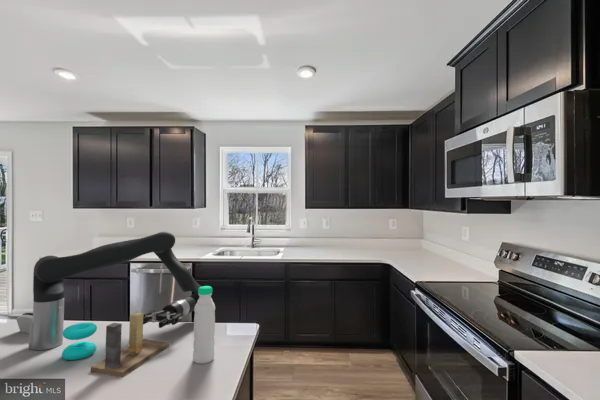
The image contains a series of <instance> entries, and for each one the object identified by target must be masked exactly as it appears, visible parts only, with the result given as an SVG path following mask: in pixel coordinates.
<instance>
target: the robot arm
mask: <svg viewBox="0 0 600 400" xmlns="http://www.w3.org/2000/svg"><path fill="white" fill-rule="evenodd" d="M175 244H176V237H175V235H174V234H173V233H171V232H169V231H160V232H157V233H154V234H151V235H149V236H145V237H141V238H135V239H129V240H123V241H119V242H113V243H108V244H104V245H100V246H98V247H97V246H96V247H95V248H91V249H90V250H87V251H85V252H82V253H77V254H73V255H68V256H60V257H59V256H57V255H46V256H43V257H41V258H40V259H38V260H37V261H36V262H35V265H34V266H33V276H32V277H33V280H32V281H33V282H32V284H33V285H32V286H33V287H32V292H33V294H32V295H33V299H32V301H33V305H32V306H33V307H32V311H33V321H32V322H30V326H29V333H28V349H29V350H33V351H45V350H50V349H53V348H56V347H59V346H61V345H62V344H63V343H64V336H63V331H64V325H65V324H64V321H65V317H64V315H65V296H66V295H65V294H66V293H65V292H66V291H65V283H64V280H65V279H66V278H70V277H73V276H75V275H78V274H81V273H85V272H89V271H94V270H101V269H103V268H109V267H113V266H117V265H120V264H124V263H127V262H130V261H132V260H134V259H137V258H140V257H141V256H144V255H146V254H150V253H153V254H155V256H157V258H158V259H160V261H161V262H162V263H163V264H164V266H165V267H166V268H167V269H168V271H169V272H170V273H171V276H172V277H173V278H174V280H175V281H176V283H177V285H178V286H179V288H180V290H181V291H182V292H183V293H186V292H192V294H191V295H189V296H186V297H183V298H181V299H178V300H175V301H173V302H171V303H169V304H166V305H165V306H164V307H163V308H162V310H160V311H157V312H156V311H155V310H152V311H149V312H146V313H143V326H144V325H146V324H148V323H154V324H155V323H158V329H162V328H164V327H165V326H169V325H171V326H175V325H176V324H178V323H180V322H181V321H182V319H183V318H184V317H186V316H187V315H188V314H190V313H192V312H194V308H195V305H196V304H197V301H198V299H199V297H200V296H199V295H198V289H199V287H202V285H201V284H200V283H198V282H197V281H196V280H195V278H194V277H193V275H192V273H191V271H190V270H189V269H188V268H187V267H186V266H185V265H184V264H183V263H182V261H180V260H179V259H178V258H177V257H176V255H175V254H174V252H173V250H172V248H173V247H174V246H175Z"/></svg>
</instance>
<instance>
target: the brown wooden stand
mask: <svg viewBox="0 0 600 400" xmlns="http://www.w3.org/2000/svg"><path fill="white" fill-rule="evenodd" d="M105 329H106V332H105V353H104V354H105V358H104V359H103V360H100V361H99V362H97V363H95V364H94V365H92V366H90V372H91V373H95V374H100V375H101V374H102V375H108V376H115V377H121V378H123V377H125V376H126V375H129V373H131V372H132V371H134V370H135V369H137V368H138V367H140V366H142V365H143V364H144V363H146V362H147V361H149V360H151V359H152V358H154V357H155V356H157V355H159V354H160V353H162V352H163V351H165V350H166V349H168V348H169V347H170V342H168V341H161V340H154V339H145V338H143V344H142V351H140V352H139V353H137V354H133V353H129V345H128V346H126V347H124V348H123V349H122V348H121V347H122V323H118V322H112V323H110V324H107V325H106V327H105Z"/></svg>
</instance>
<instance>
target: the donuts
mask: <svg viewBox="0 0 600 400" xmlns="http://www.w3.org/2000/svg"><path fill="white" fill-rule="evenodd" d="M97 330H98V326H97V324H96V323H93V322H80V323H75V324H71V325H69V326H67V327H65V329H63V339H66V340H68V341H69V340H70V341H77V342H74V343H71V344H69V345H67V346H66V347H64V349H63V350H62V352H61V356H62V358H63V359H64V360H67V361H78V360H81V359H85V358H87V357H90V356H92V355H93V354H94V353H95V352H96V350H97V345H96V343H94V342H92V341H86V340H85V341H79V340H82V339H86V338H89V337H91V336H93V335H94V334H95V333H96V332H97Z"/></svg>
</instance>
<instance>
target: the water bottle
mask: <svg viewBox="0 0 600 400" xmlns="http://www.w3.org/2000/svg"><path fill="white" fill-rule="evenodd" d="M198 295H199V296H200V297H199V299H198V301H197V304H196V305H195V308H194V311H193V312H194V315H193V316H194V317H193V351H192V360H193V362H194V363H195V364H196V363H197V364H198V365H199V364H201V365H203V364H208V363H210V362H212V361H213V360H214V358H215V329H216V312H215V311H216V304H215V302H214V301H213V298H212V295H213V287H212V286H210V285H204V286H202V285H201V287H199V289H198Z"/></svg>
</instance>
